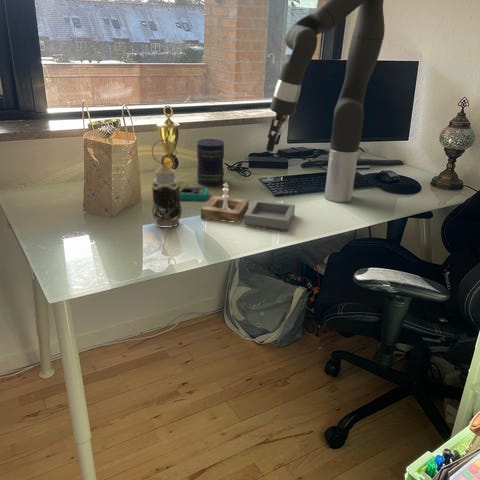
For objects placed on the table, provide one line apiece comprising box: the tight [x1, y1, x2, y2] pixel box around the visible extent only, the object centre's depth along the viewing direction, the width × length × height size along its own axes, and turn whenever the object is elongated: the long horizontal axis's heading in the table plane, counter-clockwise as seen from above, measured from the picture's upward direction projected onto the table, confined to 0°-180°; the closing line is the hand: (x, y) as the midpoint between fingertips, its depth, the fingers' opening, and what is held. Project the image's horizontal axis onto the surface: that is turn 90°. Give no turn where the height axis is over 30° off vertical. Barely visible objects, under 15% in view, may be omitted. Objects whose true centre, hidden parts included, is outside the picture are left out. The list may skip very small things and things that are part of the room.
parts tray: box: [243, 199, 296, 233], centre depth 139 cm, size 13×13×4 cm
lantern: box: [151, 139, 183, 226], centre depth 131 cm, size 9×8×25 cm
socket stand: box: [200, 195, 250, 223], centre depth 144 cm, size 12×12×3 cm
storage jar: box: [196, 138, 225, 187], centre depth 168 cm, size 10×10×15 cm
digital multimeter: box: [179, 186, 209, 202], centre depth 156 cm, size 7×15×3 cm, turn 90°
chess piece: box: [221, 182, 230, 209], centre depth 142 cm, size 5×5×10 cm
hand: (272, 147), depth 147 cm, fingers open, 8 cm apart
